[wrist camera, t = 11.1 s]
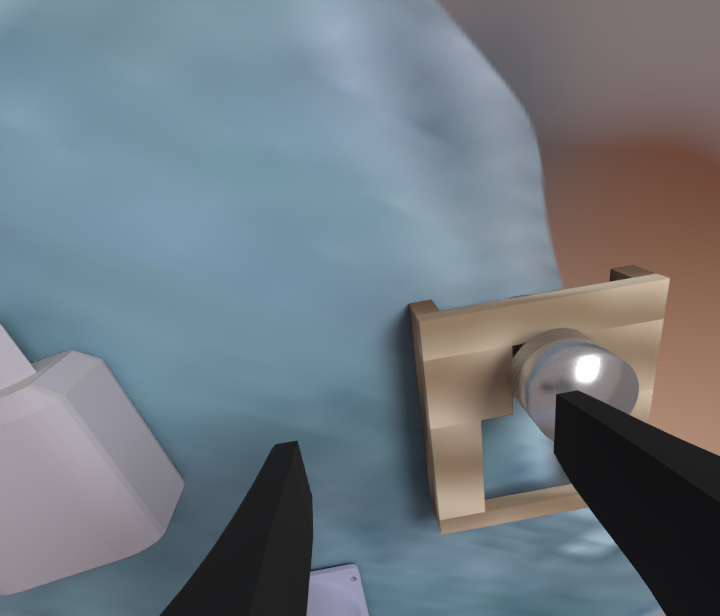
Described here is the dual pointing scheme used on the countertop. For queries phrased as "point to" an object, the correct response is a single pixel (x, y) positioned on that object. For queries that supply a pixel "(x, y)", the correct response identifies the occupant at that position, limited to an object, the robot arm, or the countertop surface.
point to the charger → (74, 470)
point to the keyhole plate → (491, 386)
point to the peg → (568, 374)
